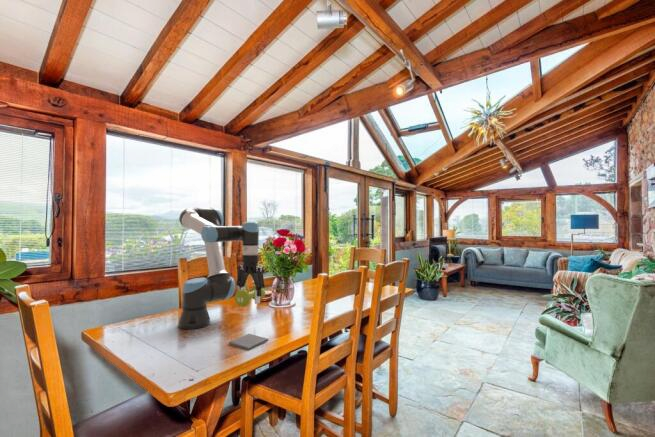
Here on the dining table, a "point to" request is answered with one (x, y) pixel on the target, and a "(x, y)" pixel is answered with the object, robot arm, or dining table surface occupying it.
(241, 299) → the dumbbell
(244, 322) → the dining table surface
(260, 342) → the trivet
